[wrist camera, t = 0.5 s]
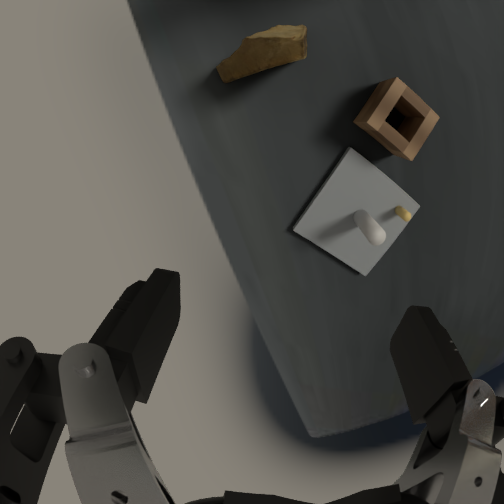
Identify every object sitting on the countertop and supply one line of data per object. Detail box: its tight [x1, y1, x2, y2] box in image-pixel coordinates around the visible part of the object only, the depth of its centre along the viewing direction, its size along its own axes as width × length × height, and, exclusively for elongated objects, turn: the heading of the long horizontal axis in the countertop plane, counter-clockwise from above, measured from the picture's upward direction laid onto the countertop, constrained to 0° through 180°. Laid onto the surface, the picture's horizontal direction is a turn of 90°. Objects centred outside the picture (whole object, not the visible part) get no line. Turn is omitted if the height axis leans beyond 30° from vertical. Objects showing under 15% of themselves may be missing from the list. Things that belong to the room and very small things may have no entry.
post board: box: [293, 147, 420, 276], centre depth 29 cm, size 12×12×7 cm
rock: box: [216, 25, 307, 83], centre depth 22 cm, size 11×9×10 cm
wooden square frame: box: [353, 77, 439, 161], centre depth 24 cm, size 6×6×5 cm
